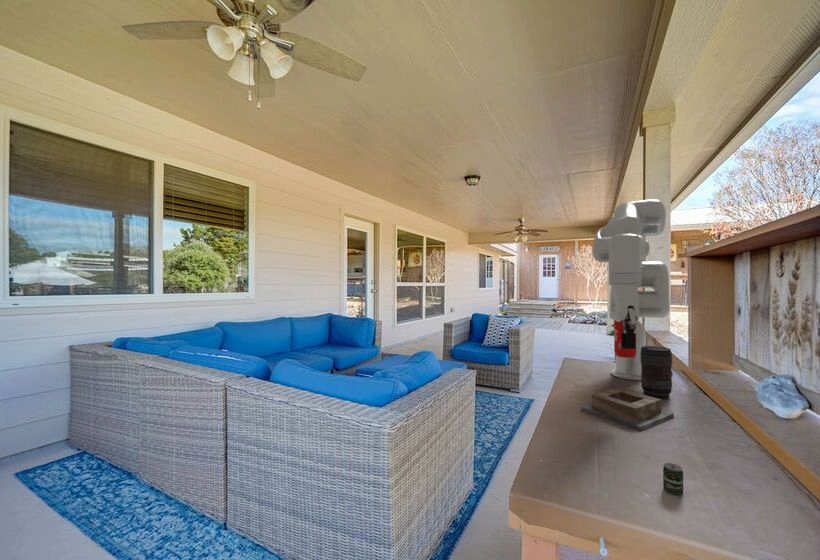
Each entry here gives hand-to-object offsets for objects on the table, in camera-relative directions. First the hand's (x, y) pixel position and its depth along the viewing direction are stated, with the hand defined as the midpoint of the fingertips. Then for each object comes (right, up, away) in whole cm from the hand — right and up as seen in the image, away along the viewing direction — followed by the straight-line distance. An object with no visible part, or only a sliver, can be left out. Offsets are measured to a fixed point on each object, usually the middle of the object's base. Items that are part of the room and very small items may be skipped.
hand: (625, 345), depth 97 cm
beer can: (-12, -20, -34) cm, 42 cm away
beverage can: (0, -3, 0) cm, 3 cm away
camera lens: (+18, -18, +14) cm, 29 cm away
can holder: (0, -19, 0) cm, 19 cm away
